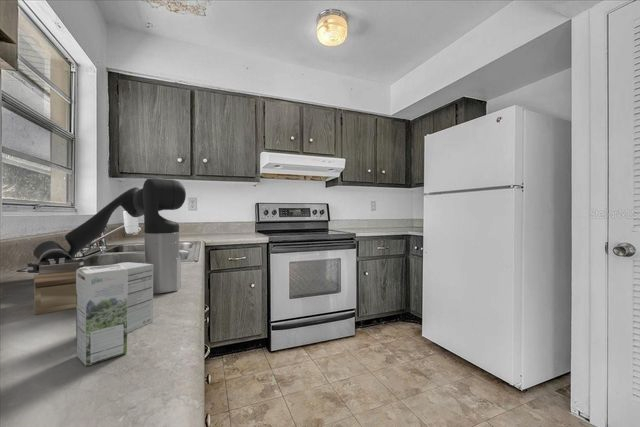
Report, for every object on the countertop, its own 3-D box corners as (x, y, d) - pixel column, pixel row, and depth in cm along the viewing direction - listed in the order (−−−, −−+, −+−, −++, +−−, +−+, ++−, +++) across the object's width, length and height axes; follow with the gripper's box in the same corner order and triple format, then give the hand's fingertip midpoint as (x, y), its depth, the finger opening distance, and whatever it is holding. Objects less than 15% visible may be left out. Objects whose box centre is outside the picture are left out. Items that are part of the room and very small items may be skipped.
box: (34, 303, 76) (33, 279, 76) (83, 295, 83) (83, 274, 83) (34, 314, 68) (34, 288, 68) (90, 305, 75) (89, 281, 75)
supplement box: (94, 331, 59) (93, 267, 59) (128, 318, 66) (127, 261, 66) (122, 335, 57) (122, 269, 56) (154, 321, 64) (154, 263, 64)
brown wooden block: (33, 277, 77) (33, 266, 77) (82, 272, 84) (82, 261, 84) (34, 287, 68) (34, 274, 67) (89, 280, 75) (89, 268, 75)
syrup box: (116, 344, 53) (115, 262, 53) (128, 354, 49) (127, 266, 49) (75, 356, 49) (75, 267, 48) (85, 368, 45) (84, 272, 45)
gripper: (82, 270, 98) (89, 279, 85) (25, 276, 89) (24, 288, 76) (82, 247, 98) (89, 254, 85) (25, 251, 89) (24, 259, 76)
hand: (58, 270), depth 81 cm, fingers closed
